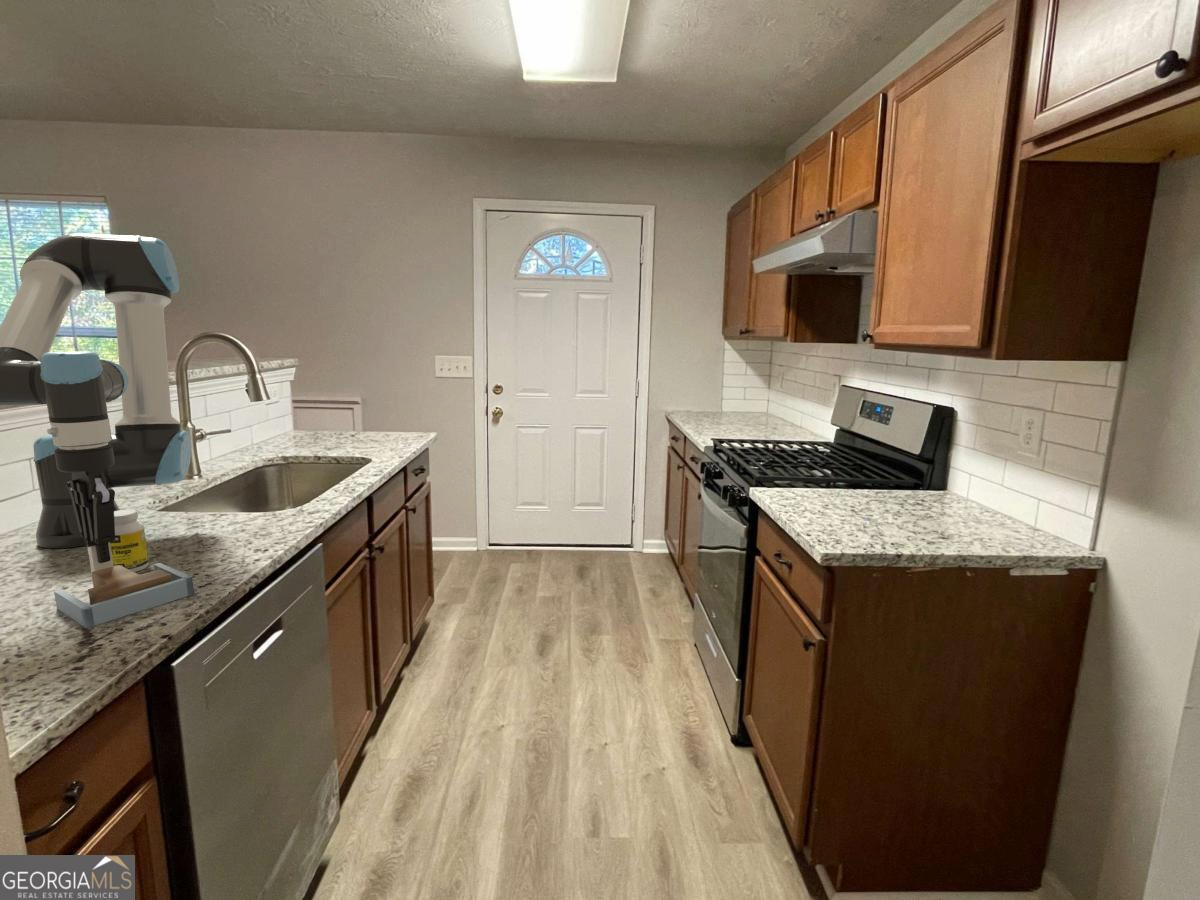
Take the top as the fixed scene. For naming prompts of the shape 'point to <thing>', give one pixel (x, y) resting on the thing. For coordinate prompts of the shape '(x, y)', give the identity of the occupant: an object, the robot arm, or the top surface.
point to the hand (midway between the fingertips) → (103, 578)
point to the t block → (122, 582)
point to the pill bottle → (129, 541)
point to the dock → (126, 600)
